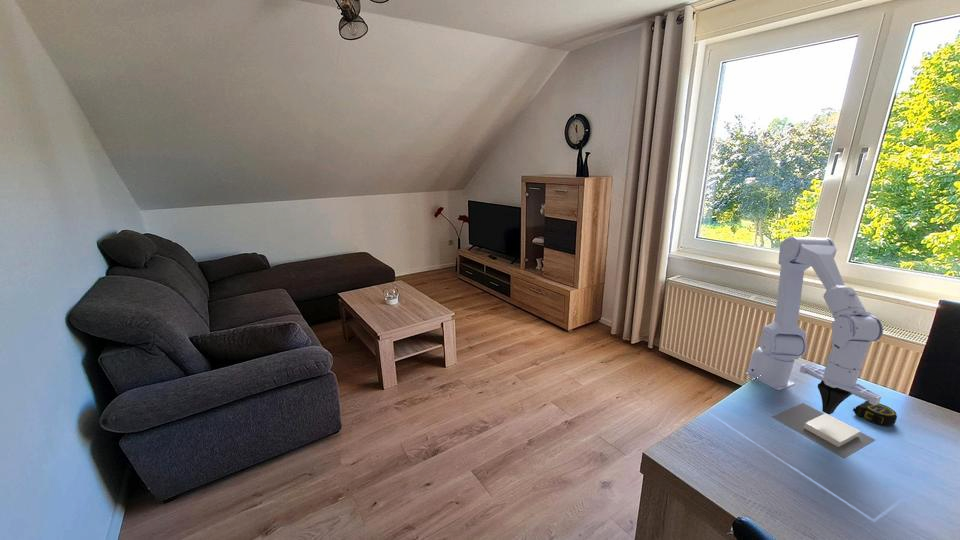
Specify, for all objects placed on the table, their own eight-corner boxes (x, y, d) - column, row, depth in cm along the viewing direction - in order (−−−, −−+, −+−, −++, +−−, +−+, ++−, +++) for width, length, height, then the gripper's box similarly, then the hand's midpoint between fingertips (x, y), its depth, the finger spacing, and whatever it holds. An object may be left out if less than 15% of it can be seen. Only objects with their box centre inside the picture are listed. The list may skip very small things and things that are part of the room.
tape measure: (864, 408, 101) (868, 396, 100) (898, 424, 95) (904, 412, 94) (850, 415, 99) (854, 403, 97) (885, 432, 93) (890, 419, 91)
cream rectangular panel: (805, 422, 92) (840, 442, 86) (825, 413, 96) (860, 431, 90) (803, 428, 93) (838, 448, 87) (823, 418, 96) (858, 436, 90)
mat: (771, 418, 97) (771, 416, 97) (802, 404, 103) (803, 402, 102) (843, 459, 84) (844, 458, 84) (875, 441, 90) (875, 439, 89)
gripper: (798, 352, 92) (784, 398, 96) (877, 384, 80) (857, 436, 84) (815, 346, 95) (800, 392, 99) (893, 376, 82) (873, 427, 86)
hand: (827, 411), depth 92 cm, fingers closed
